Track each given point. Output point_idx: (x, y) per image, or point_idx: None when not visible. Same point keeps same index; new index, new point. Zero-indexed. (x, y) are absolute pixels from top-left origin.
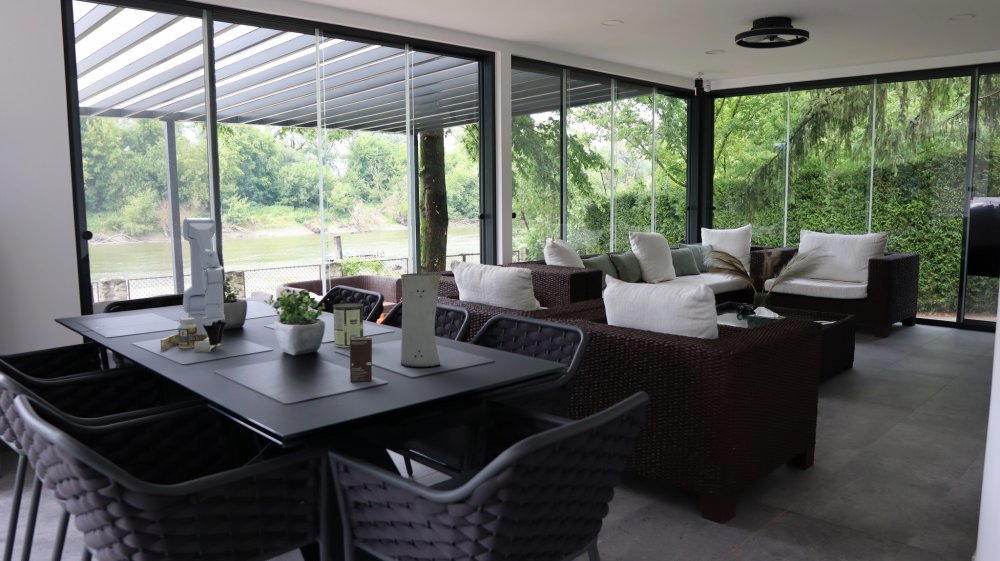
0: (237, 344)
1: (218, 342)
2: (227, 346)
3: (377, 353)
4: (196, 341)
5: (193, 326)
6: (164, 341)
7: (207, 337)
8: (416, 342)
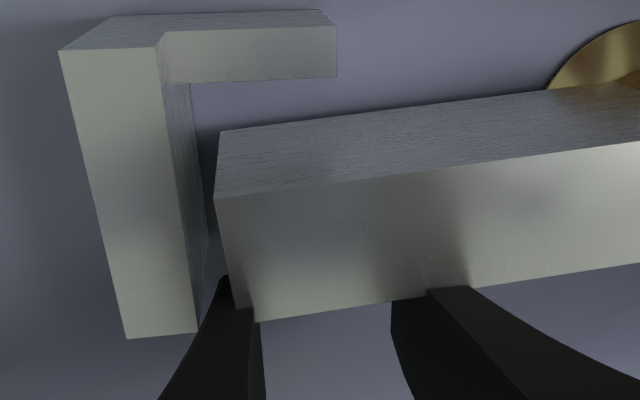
0: (608, 358)
1: (395, 323)
2: (506, 308)
3: None
4: (133, 70)
5: None
6: None
7: (564, 150)
8: None
